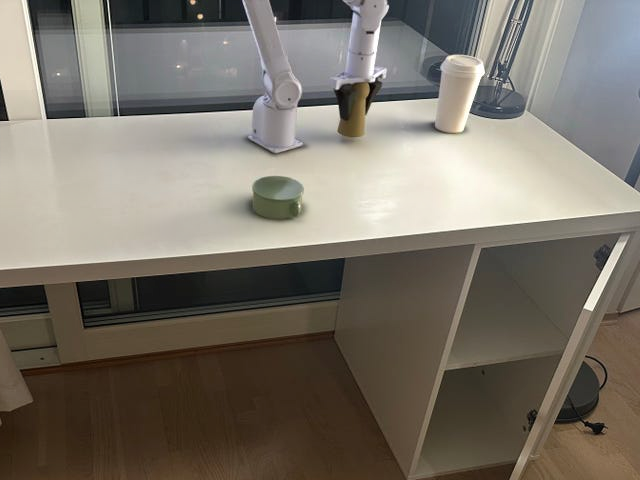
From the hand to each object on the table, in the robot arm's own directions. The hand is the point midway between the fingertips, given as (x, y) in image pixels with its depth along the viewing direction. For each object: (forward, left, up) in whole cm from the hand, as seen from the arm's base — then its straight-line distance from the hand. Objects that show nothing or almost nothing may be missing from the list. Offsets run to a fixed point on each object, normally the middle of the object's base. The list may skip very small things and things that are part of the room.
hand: (353, 116), depth 152 cm
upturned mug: (+15, -33, -5) cm, 37 cm away
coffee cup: (+7, +25, -5) cm, 27 cm away
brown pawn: (0, 0, -4) cm, 4 cm away
